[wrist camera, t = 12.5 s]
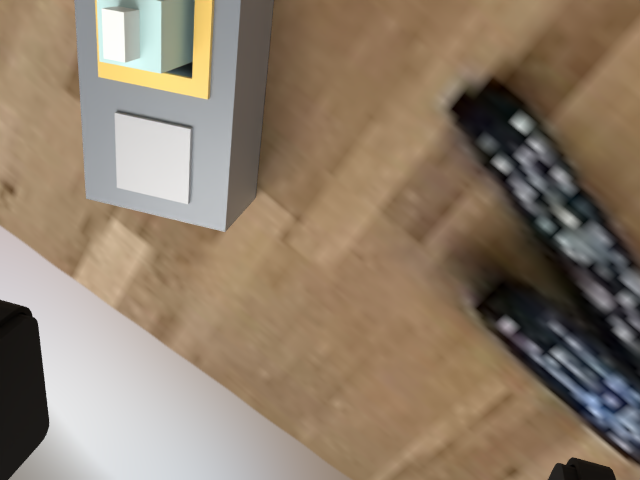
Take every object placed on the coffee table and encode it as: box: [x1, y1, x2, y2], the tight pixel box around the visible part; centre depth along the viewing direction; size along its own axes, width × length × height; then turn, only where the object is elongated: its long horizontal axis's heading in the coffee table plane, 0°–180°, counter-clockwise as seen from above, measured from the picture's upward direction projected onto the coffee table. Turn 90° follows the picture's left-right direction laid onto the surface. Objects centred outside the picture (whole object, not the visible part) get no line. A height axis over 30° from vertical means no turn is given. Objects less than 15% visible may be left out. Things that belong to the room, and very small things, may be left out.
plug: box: [97, 0, 195, 74], centre depth 33 cm, size 4×4×10 cm
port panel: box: [75, 0, 274, 232], centre depth 37 cm, size 16×10×6 cm, turn 172°
